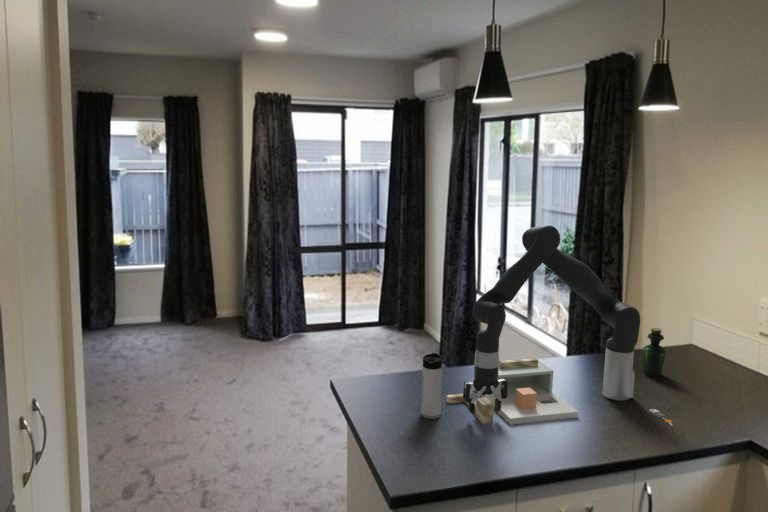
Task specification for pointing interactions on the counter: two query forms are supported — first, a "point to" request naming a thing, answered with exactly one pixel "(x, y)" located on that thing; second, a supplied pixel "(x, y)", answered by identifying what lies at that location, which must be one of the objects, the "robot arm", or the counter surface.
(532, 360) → the stick
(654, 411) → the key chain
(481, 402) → the crook
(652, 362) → the potion bottle
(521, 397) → the cube
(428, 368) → the travel mug
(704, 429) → the counter surface
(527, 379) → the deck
